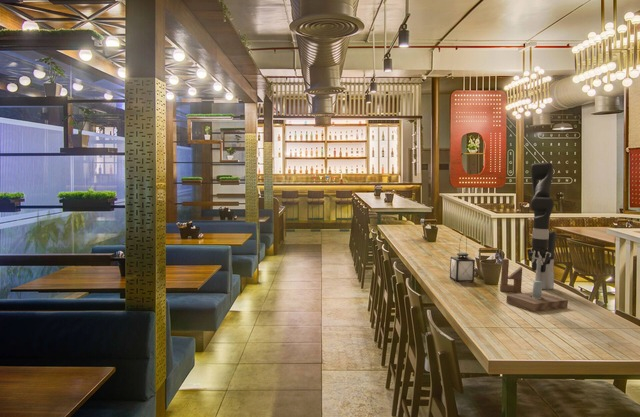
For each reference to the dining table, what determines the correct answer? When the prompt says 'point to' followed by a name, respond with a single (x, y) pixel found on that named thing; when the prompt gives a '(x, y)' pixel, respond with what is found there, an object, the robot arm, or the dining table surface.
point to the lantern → (462, 267)
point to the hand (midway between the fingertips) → (538, 271)
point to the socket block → (537, 302)
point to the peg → (537, 289)
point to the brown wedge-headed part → (515, 275)
